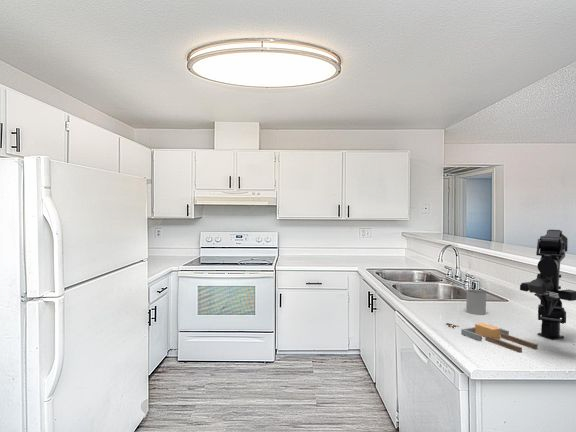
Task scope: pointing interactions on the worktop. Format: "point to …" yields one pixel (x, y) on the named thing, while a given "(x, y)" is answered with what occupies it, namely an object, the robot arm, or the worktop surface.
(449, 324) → the hand saw
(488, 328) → the block
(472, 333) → the tray
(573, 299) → the robot arm
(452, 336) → the worktop surface
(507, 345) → the slot guide
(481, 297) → the cup
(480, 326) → the block
